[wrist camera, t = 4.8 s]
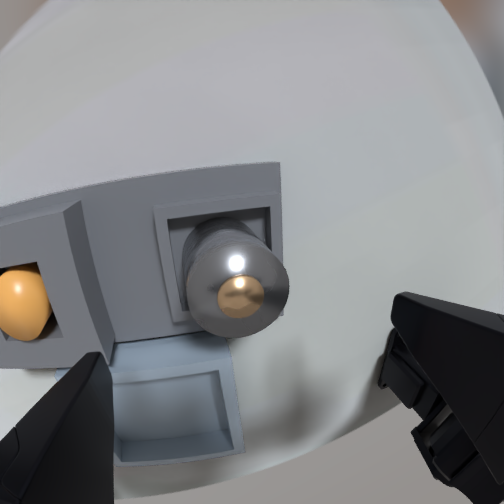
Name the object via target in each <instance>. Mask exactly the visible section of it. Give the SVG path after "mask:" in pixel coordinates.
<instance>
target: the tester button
mask: <svg viewBox="0 0 504 504" xmlns="http://www.w3.org/2000/svg"><path fill="white" fill-rule="evenodd" d="M52 311H53V309H52V306H51V303H50V301H49V298H48V295H47V292H46V289H45V286H44V283H43V280H42V277H41V273H40V270H39V267H38V263H37V262H31V263H26V264H20V265H15V266H11V267H10V268H9V269H8V270H7V271H6V272H4V273H3V274H2V275H1V276H0V328H1V329H2V330H3V331H4V332H5V333H7V334H8V335H9V336H11V337H13V338H15V339H18V340H22V341H29V340H33V339H35V338H36V337H38V336H39V334H40V333H41V331H42V329H43V327H44V325H45V324H46V322H47V320H48V318H49V316H50V315H51V313H52Z"/></svg>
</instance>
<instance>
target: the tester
mask: <svg viewBox="0 0 504 504" xmlns="http://www.w3.org/2000/svg"><path fill="white" fill-rule="evenodd" d="M215 217H230V218H234V219H237V220H239V221H241V222H243V223H244V224H246V225H247V226H248V227H249V228H250V229H251V230H252V231H253V232H254V233H255V234H256V235H257V236H258V238H259V239H260V240H261V241H262V242H263V243H264V244H265V245H266V246H267V247H268V248H269V249H270V251H271V252H272V253H273V254H274V255H275V256H276V257H277V258H278V259H279V260H280V262H281V263H282V264H283V242H282V205H281V177H280V162H263V163H249V164H236V165H225V166H215V167H205V168H196V169H188V170H180V171H172V172H165V173H158V174H151V175H144V176H138V177H132V178H126V179H120V180H114V181H109V182H104V183H98V184H93V185H88V186H83V187H79V188H74V189H69V190H65V191H60V192H56V193H52V194H48V195H43V196H39V197H35V198H31V199H28V200H24V201H20V202H16V203H13V204H9V205H6V206H2V207H0V276H1V275H2V274H3V273H4V272H6V271H7V270H8V269H9V268H10V267H11V266H15V265H20V264H26V263H31V262H37V263H38V267H39V270H40V273H41V277H42V280H43V283H44V286H45V289H46V292H47V295H48V298H49V301H50V303H51V306H52V309H53V311H52V313H51V315H50V316H49V318H48V320H47V322H46V324H45V325H44V327H43V329H42V331H41V333H40V334H39V336H38V337H36V338H35V339H33V340H29V341H22V340H18V339H15V338H13V337H11V336H9V335H8V334H7V333H5V332H4V331H3V330H2V329H1V328H0V368H6V369H31V368H64V367H73V366H74V365H75V364H76V363H77V362H78V361H79V360H80V359H81V358H82V357H83V356H84V355H85V354H86V353H88V352H96V351H100V352H101V353H102V354H103V356H104V358H105V360H106V363H107V365H108V364H110V358H111V353H112V348H113V343H115V342H124V341H132V340H140V339H148V338H156V337H163V336H170V335H177V334H184V333H190V332H197V331H203V330H205V329H203V328H202V327H201V326H200V325H199V324H198V323H197V322H196V321H195V319H194V318H193V316H192V314H191V312H190V310H189V306H188V301H187V293H186V285H185V277H184V269H183V259H182V251H183V246H184V243H185V240H186V238H187V237H188V235H189V234H190V232H191V231H192V230H193V229H194V228H195V227H196V226H197V225H199V224H200V223H202V222H204V221H206V220H208V219H211V218H215ZM279 316H283V310H282V312H281V313H280V315H279Z"/></svg>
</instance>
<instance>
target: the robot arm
mask: <svg viewBox="0 0 504 504" xmlns="http://www.w3.org/2000/svg"><path fill="white" fill-rule="evenodd" d="M391 321H392V323H393V325H394V327H395V329H394V330H393V331H392V334H391V338H390V342H389V346H388V350H387V354H386V358H385V361H384V365H383V368H382V372H381V375H380V379H379V382H378V386H379V388H380V389H384V388H387V387H390V389H391V390H392V391H393V392H394V393H395V394H396V396H397V397H398V398H399V399H400V400H401V401H402V403H403V404H404V405H405V406H406V407H407V408H408V409H411V408H413V409H414V410H415V411H416V412H417V413H418V415H419V416H420V417H421V418H422V419H423V421H422V422H421V423H420V424H419V425H418V426H417V427H415V428H414V429H413V430H412V431H411V434H412V435H413V437H414V441H415V443H416V445H417V447H418V449H419V451H420V452H421V454H422V456H423V458H424V460H425V462H426V464H427V465H428V467H429V469H430V471H431V473H432V475H433V477H434V478H435V479H436V480H440V481H441V482H442V483H443V484H445V485H447V486H449V487H455V488H457V489H458V490H460V491H461V492H462V493H463V494H464V495H466V496H467V497H468V498H469V499H470V501H471V502H472V503H473V504H500V503H501V502H502V501H504V315H502V314H496V313H493V312H489V311H485V310H481V309H476V308H472V307H468V306H464V305H460V304H456V303H452V302H447V301H443V300H439V299H435V298H431V297H427V296H423V295H418V294H414V293H410V292H402V293H399V294H397V295H395V297H394V301H393V306H392V311H391ZM114 427H115V426H114V406H113V379H112V375H111V372H110V370H109V367H108V365H107V363H106V360H105V358H104V356H103V354H102V353H101V352H100V351H96V352H88V353H86V354H85V355H84V356H83V357H82V358H81V359H80V360H79V361H78V362H77V363H76V364H75V365H74V366H73V367H72V368H71V369H70V370H69V371H68V372H67V373H66V374H65V375H64V376H63V377H62V378H61V379H60V380H59V381H58V382H57V383H56V384H55V385H54V386H53V387H52V388H51V389H50V390H49V391H48V392H47V393H46V394H45V395H44V396H43V397H42V398H41V399H40V400H39V401H38V402H37V403H36V404H35V405H34V406H33V407H32V408H31V409H30V410H29V411H28V412H27V413H26V415H25V416H24V417H23V418H22V419H21V420H20V421H19V422H18V423H17V424H16V425H15V427H13V428H12V429H11V430H10V431H9V433H8V434H7V435H6V436H5V437H4V438H3V439H2V440H1V441H0V504H114V483H113V462H114Z"/></svg>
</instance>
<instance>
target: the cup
mask: <svg viewBox="0 0 504 504" xmlns="http://www.w3.org/2000/svg"><path fill="white" fill-rule="evenodd" d="M108 367H109V370H110V372H111V375H112V379H113V406H114V426H115V427H114V462H113V463H114V465H115V466H116V467H127V466H150V465H164V464H174V463H183V462H192V461H199V460H206V459H212V458H218V457H224V456H229V455H234V454H239V453H244V452H245V447H244V441H243V434H242V428H241V421H240V414H239V408H238V401H237V394H236V387H235V380H234V372H233V365H232V357H231V354H230V351H229V348H228V345H227V341H226V338H225V337H221V336H217V335H214V334H212V333H210V332H208V331H204V332H198V333H191V334H185V335H178V336H171V337H164V338H157V339H149V340H142V341H133V342H125V343H116V344H113V348H112V353H111V358H110V364H108ZM71 368H72V367H64V368H57V371H56V374H55V376H54V377H55V378H56V380H57V382H58V381H59V380H60V379H61V378H62V377H63V376H64V375H65V374H66V373H67V372H68V371H69V370H70V369H71Z"/></svg>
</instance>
